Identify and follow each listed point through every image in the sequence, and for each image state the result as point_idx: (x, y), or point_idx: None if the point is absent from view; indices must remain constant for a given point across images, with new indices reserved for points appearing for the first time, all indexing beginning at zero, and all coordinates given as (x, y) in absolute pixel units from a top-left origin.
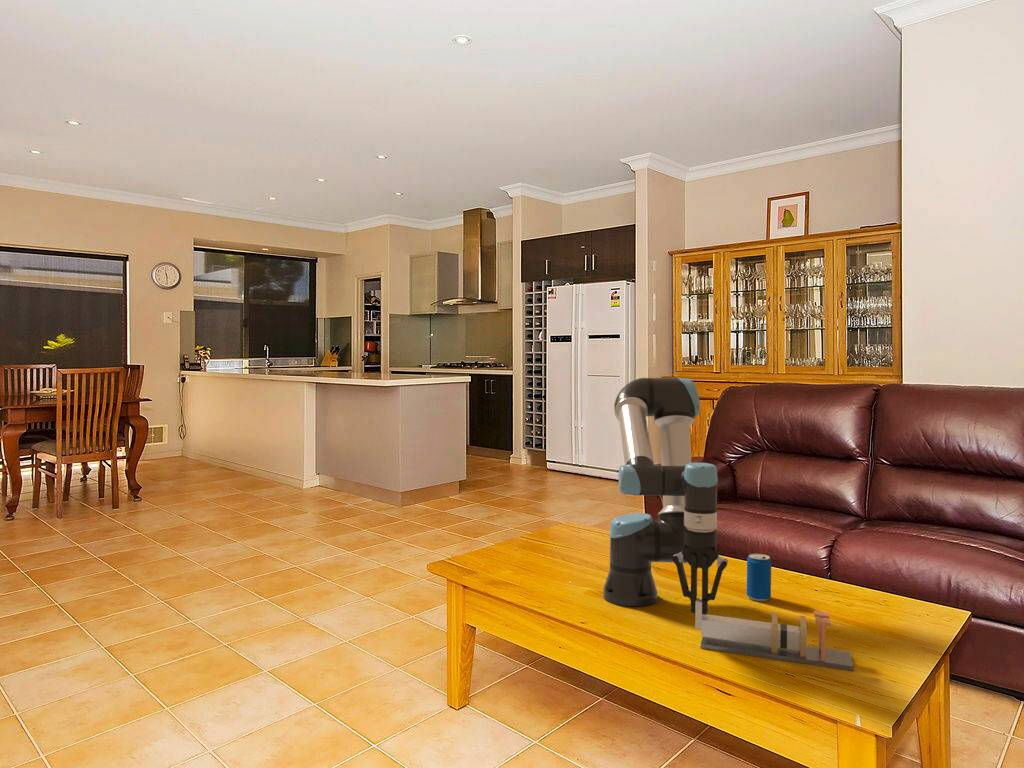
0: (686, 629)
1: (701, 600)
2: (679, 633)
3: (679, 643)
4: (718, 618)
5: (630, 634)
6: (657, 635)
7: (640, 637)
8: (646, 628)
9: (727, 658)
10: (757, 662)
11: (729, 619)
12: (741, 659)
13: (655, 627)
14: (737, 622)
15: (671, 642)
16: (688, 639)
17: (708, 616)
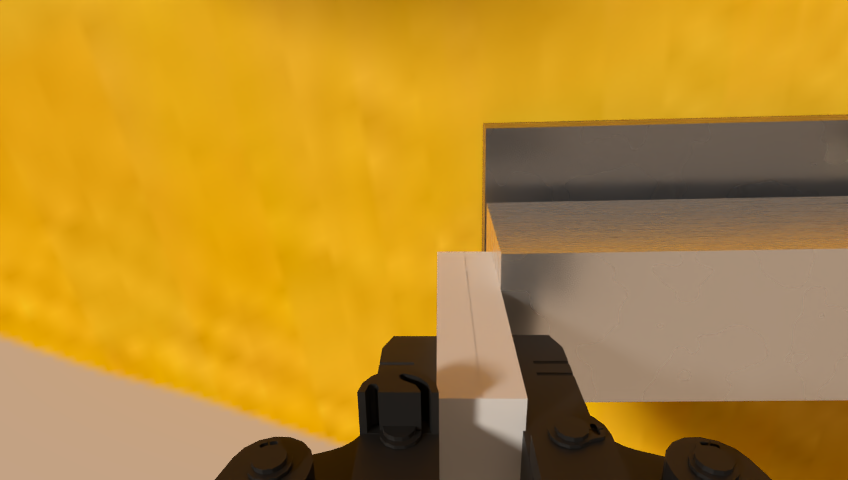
0: (337, 48)
1: (509, 475)
2: (305, 154)
3: (343, 321)
4: (656, 320)
5: (15, 299)
6: (176, 249)
7: (92, 321)
8: (59, 154)
9: (641, 419)
10: (813, 411)
11: (767, 307)
12: (723, 405)
13: (108, 106)
14: (837, 352)
15: (293, 324)
16: (386, 237)
17: (557, 302)
